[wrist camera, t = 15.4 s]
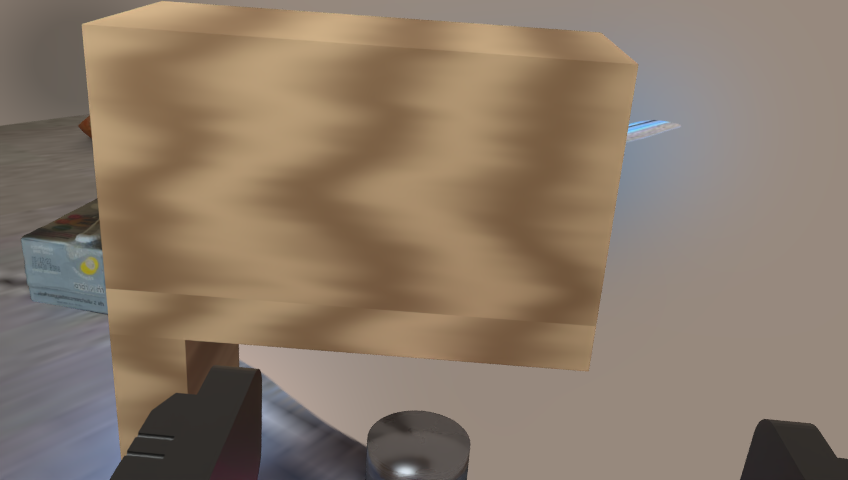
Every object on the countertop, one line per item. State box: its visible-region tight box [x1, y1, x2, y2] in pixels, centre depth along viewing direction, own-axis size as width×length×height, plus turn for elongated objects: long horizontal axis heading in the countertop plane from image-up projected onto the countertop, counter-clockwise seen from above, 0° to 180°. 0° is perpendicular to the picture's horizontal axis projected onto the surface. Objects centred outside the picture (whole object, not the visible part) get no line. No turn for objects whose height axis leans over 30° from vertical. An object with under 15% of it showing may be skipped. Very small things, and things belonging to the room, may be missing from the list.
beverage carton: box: [21, 198, 108, 314], centre depth 73 cm, size 8×19×7 cm, turn 166°
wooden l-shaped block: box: [82, 1, 638, 460], centre depth 37 cm, size 19×8×27 cm, turn 87°
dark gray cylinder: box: [366, 411, 470, 480], centre depth 48 cm, size 6×6×3 cm
